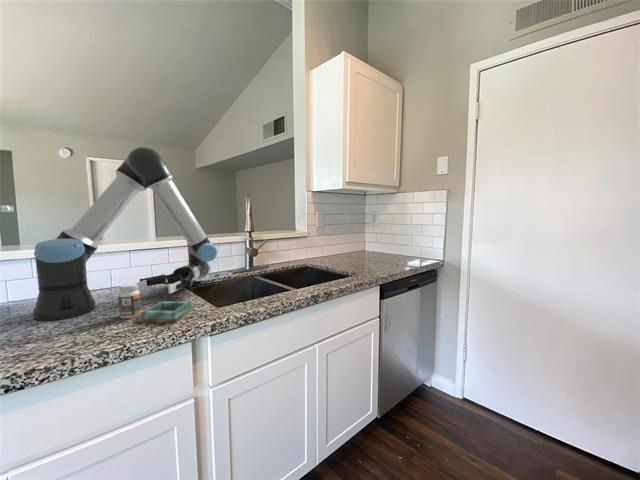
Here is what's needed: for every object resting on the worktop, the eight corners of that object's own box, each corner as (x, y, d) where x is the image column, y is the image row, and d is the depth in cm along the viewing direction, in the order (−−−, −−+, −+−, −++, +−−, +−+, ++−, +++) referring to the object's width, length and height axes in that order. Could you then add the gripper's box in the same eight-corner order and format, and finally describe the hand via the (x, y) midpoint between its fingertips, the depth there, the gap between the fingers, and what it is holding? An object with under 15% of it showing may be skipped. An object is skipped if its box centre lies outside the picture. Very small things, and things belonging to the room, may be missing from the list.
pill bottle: (139, 317, 88) (137, 286, 87) (117, 320, 86) (115, 288, 85) (143, 311, 94) (141, 282, 93) (122, 314, 92) (120, 283, 91)
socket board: (135, 322, 85) (135, 312, 85) (155, 310, 95) (155, 301, 95) (175, 322, 85) (175, 312, 84) (191, 310, 95) (191, 301, 94)
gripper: (214, 284, 119) (185, 300, 98) (158, 282, 121) (118, 298, 101) (213, 266, 118) (184, 279, 97) (157, 265, 121) (116, 277, 100)
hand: (150, 289), depth 99 cm, fingers open, 13 cm apart
